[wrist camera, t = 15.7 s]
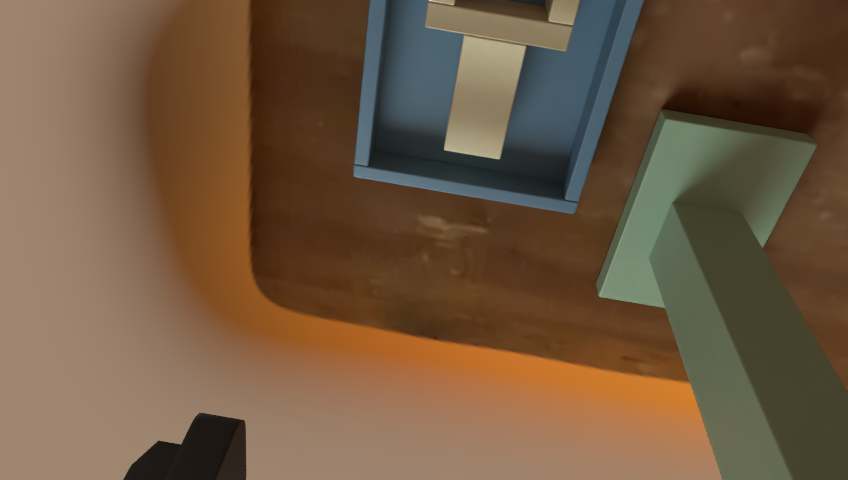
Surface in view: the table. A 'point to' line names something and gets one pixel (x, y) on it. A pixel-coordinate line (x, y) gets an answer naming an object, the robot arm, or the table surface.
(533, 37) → the beige square frame paddle
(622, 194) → the table surface
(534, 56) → the tray
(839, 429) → the stand
